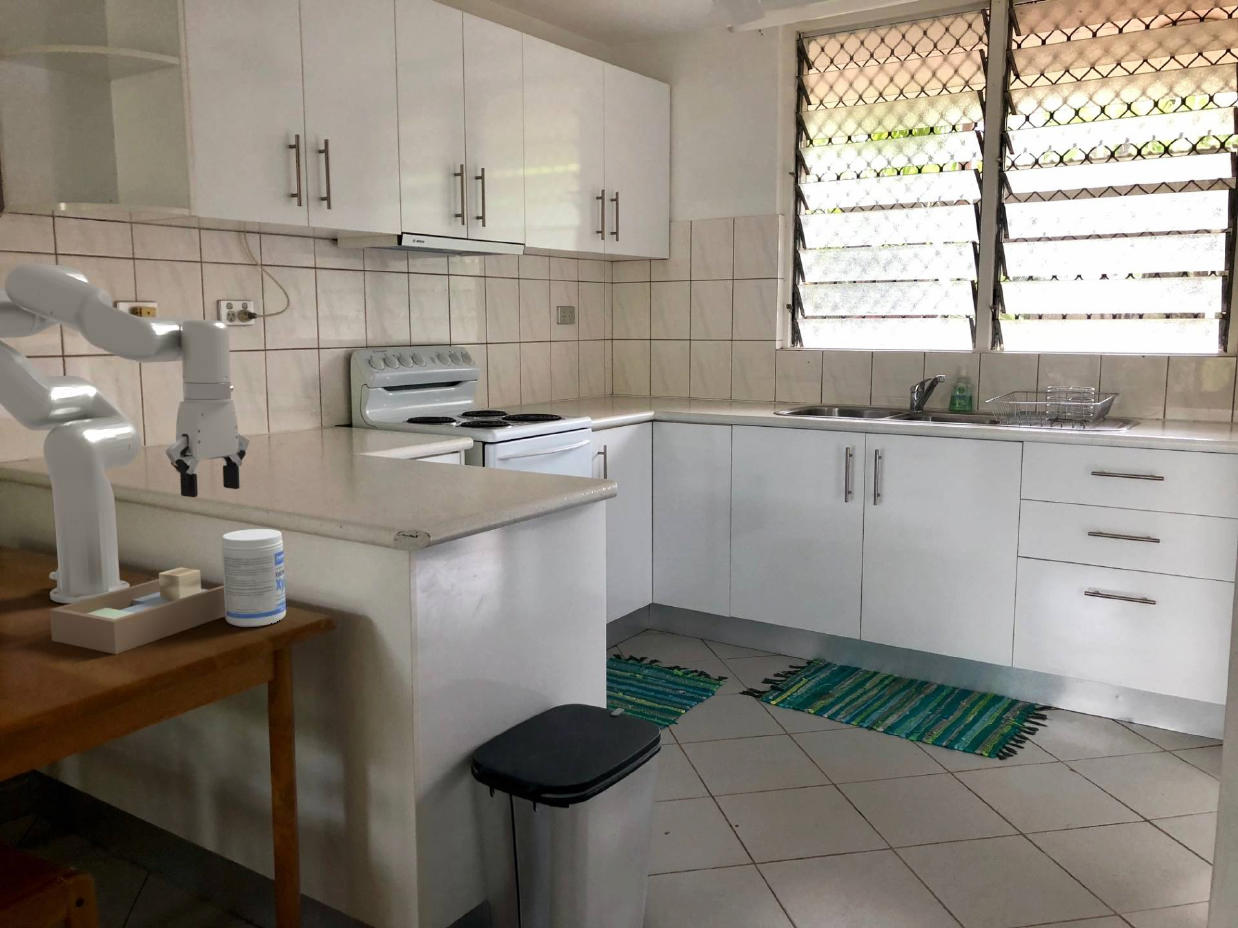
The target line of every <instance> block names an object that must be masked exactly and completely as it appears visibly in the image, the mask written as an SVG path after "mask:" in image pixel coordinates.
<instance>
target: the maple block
mask: <svg viewBox="0 0 1238 928" xmlns="http://www.w3.org/2000/svg"><path fill="white" fill-rule="evenodd" d="M201 578H202V577H201V569H195V568H187V567H181V566H180V567H176V568H173V569H170V570H166V571H163V572H159V573H158V579H159V586H160V599H161V600H167V601H175V600H178V599H182V598H185V597H188V596H191V595H194V594H198V593H201V589H202V582H201V581H202V579H201Z"/></svg>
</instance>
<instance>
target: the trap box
mask: <svg viewBox="0 0 1238 928" xmlns="http://www.w3.org/2000/svg"><path fill="white" fill-rule="evenodd" d="M224 617H226V616H225V597H224V584H223V585H220V586H217V587H214V588H211V589H204V588H201V593H198V594H194V595H191V596H188V597H185V598H182V599H178V600H175V601H167V600H161V599H160V586H159V578H157V579H153V580H150V581H146V582H143V583H140V584H135V585H132V586H129V587H128V588H124V589H121V590H117V591H114V592H110V593H107V594H103V595H100V596H96V597H92V598H89V599H85V600H82V601H78V602H75V603H67V604H64V605H60V606H57V607H54V608H50V609H49V619H50V620H49V621H50V632H51V641H52V642H55V643H56V642H57V643H62V644H66V645H71V646H75V647H76V646H77V647H79V648H80V647H81V648H85V649H89V650H94V651H97V652H98V651H99V652H104V653H108V654H113V655H118V654H121V653H123V652H126V651H130V650H132V649H135V648H138V647H140V646H143V645H147V644H149V643H152V642H155V641H157V640H160V639H164V638H167V637H169V636H172V635H175V634H178V633H181V632H183V631H187V630H190V629H192V628H195V627H198V626H201V625H204V624H206V623H210V622H212V621H216V620H217V619H221V618H224Z"/></svg>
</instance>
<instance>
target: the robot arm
mask: <svg viewBox="0 0 1238 928" xmlns="http://www.w3.org/2000/svg"><path fill="white" fill-rule="evenodd" d="M3 285H4V290H0V405H1V406H2V407H3V408H4V409H5V410H6V412H7V413H9V415H10V416H12V417H13V418H14V419H15V420H16V421H17V422H18V423H19V424H20V425H21V426H23V427H24V428H26V429H28V430H29V431H30V430H31V431H36V432H38V431H39V432H43V431H49V433H48V434H47V435H46V437H45V439H44V441H43V448H42V449H43V457H44V462H45V465H46V468H47V471H48V475H49V479H50V483H51V488H52V499H53V501H52V502H53V512H54V523H55V524H54V525H55V536H56V537H55V538H56V552H57V555H56V556H57V564H58V565H57V569H56V570H55V571H52V572H50V574H49V575H48V576H49V577H48V578H49V579H50V580H54V581H56V586H57V587H55V588H53V589H52V590H50V592H49V596H50V599H51V601H53V602H55V603H61V604H71V603H75V602H78V601H82V600H85V599H89V598H92V597H96V596H100V595H103V594H107V593H110V592H114V591H117V590H121V589H124V588H128V587H130V583H129V582H127V581H125V580H121V579H120V565H119V551H118V549H119V548H118V547H119V545H118V532H117V531H118V530H117V518H116V515H117V514H116V513H117V512H116V505H115V503H116V501H115V494H114V491H113V488H112V485H111V483H110V481H109V480H108V477H107V475H106V473H105V471H107V470H111V469H117V468H120V467H123V466H126V465H128V464H130V463H133V462H134V461H135V460H136V459H137V457H139V455H140V453H141V451H142V438H141V434H140V431H139V429H138V428H137V426H136V425H135V424H134V422H133V421H132V420H131V419H130V418H129V417H128V416H127V415H126V414H125V413H124V412H123V411H122V410H121V409H120V408H119V407H118V406H117V405H116V404H115V403H114V402H113V401H112V400H111V399H110V398H109V396H107V395H106V394H105V393H104V392H103V391H102V390H101V389H100V388H99V387H98V386H97V385H95V384H94V383H92V382H91V381H89V380H87V379H85V378H82V377H80V376H75V375H58V376H57V375H56V376H55V375H54V376H53V375H48V374H46V373H44V372H42V371H41V370H40V369H39V368H38V367H37V366H36V365H35V364H34V363H32V361H31V360H30V359H29V358H27V356H26V355H24V354H23V353H22V352H21V351H19V350H18V349H17V348H15V347H13V346H11V345H9V344H8V343H5V342H4V341H2V340H1V339H6V338H7V339H10V338H11V339H12V338H13V339H15V338H16V339H17V338H26V337H31V336H33V335H36V334H39V333H41V332H43V331H45V330H47V329H49V328H51V327H54V326H56V325H57V324H59V325H61V326H64V327H66V328H69V329H71V330H72V331H73V330H74V331H76V332H78V333H80V335H81V336H82V338H84V339H85V340H86V341H87V342H88V343H89V344H90V345H92V346H94V347H95V348H98V349H100V350H101V351H104V352H107V353H109V354H112V355H114V356H117V357H120V358H123V359H124V360H128V361H131V362H135V363H141V364H146V363H148V364H149V363H161V362H162V363H169V362H180V361H181V366H182V367H181V368H182V369H181V370H182V396H183V398H182V399H183V401H179V403H178V410H177V414H176V424H175V425H176V426H175V442H174V443H173V444H171V445H170V446H169V447H168V448H167V449H166V450H165V454H166V456H167V457H168V459H169V461H170V464H171V466H172V467H174V469H175V471H176V472H177V473H178V474H179V476H180V495H181V496H182V497H187V498H188V497H189V498H196V497H198V494H199V493H198V474H197V473H195V470H196V468H197V466H198V464H199V463H200V461H207V460H209V461H210V460H215V459H222V461H223V462H224V463H225V464H224V465H222V481H223V483H222V486H223V487H224V488H225V489H231V490H233V489H234V490H237V489H238V490H239V489H240V488H241V487H240V467H241V466H242V465H243V462H242V461H243V460H244V458H245V456H246V454H247V453H246V451H247V449H248V446H249V445H250V440H249V439H248V438H246V437H245V436H243V435H241V434H240V433H239V428H238V420H237V412H236V408H235V404H234V400H233V399H232V392H233V391H234V386H233V385H232V384H231V356H230V355H231V354H230V350H231V349H230V330H229V326H228V325H227V323H226V322H224V321H222V320H217V319H216V320H214V319H213V320H212V319H185V318H179V317H164V316H163V317H159V316H158V317H157V316H156V317H155V316H138V315H135V314H132V313H129V312H127V311H123V310H121V309H118V308H117V307H113V304H112V299H111V295H109V293H108V292H107V290H105V289H104V288H102V287H100V286H97V285H94V284H92V283H90V281H89V279H88V278H87V277H86V275H84V273H83V272H82V271H79V269H76V268H74V267H71V266H68V265H61V264H47V263H36V262H35V263H34V262H32V263H31V262H30V263H28V262H27V263H24V264H23V263H22V264H20V265H18V266H15V267H14V268H12V269H11V270H10V271H9V272H8V273H7V275H6V277H5V279H4V284H3Z"/></svg>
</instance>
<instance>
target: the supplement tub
mask: <svg viewBox="0 0 1238 928" xmlns="http://www.w3.org/2000/svg"><path fill="white" fill-rule="evenodd" d="M221 538H222V539H221V540H222V544H221V553H222V554H221V557H222V558H221V559H222V573H223V575H222V576H223V585H224V597H225V616H224V617H225V620H226V622H227V623H228V624H230V625H232V626H236V627H242V628H250V627H251V628H252V627H263V626H267V625H271V623H272V624H274V623H277V621H278V622H279V620H280V621H281V620H282V619H284V617H285V616H286V614H287V608H286V607H287V606H286V588H285V587H286V585H285V580H286V579H285V563H284V562H285V560H284V558H285V557H284V543H283V534H282V532H281V531H279V530H277V529H269V528H253V529H252V528H250V529H241V530H236V531H230V532H227V533H225V534H223V535H222V537H221Z"/></svg>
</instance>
